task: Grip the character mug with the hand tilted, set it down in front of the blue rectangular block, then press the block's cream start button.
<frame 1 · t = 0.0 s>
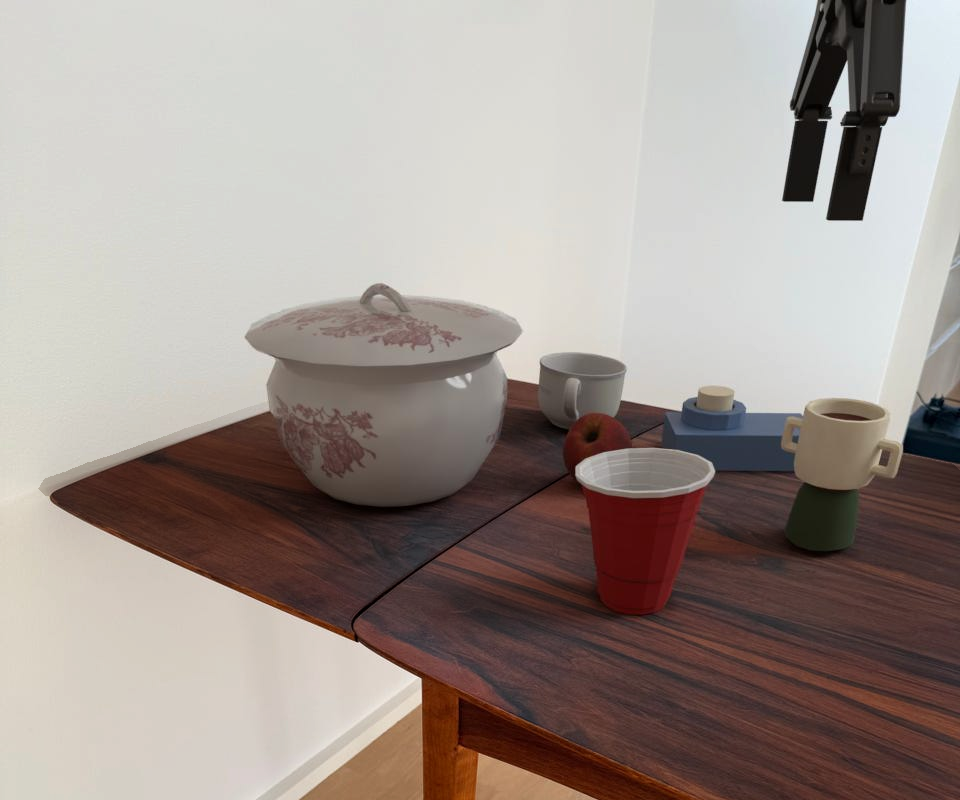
hand: (818, 210, 77), 28 cm above the table, tool pointing down, fingers open, 13 cm apart
apple: (594, 486, 96), on the table
teacup: (574, 429, 112), on the table
blue rectangular block: (734, 458, 103), on the table
start button: (715, 399, 100), point 7 cm above the table, slide at 0.1 cm
plastic cup: (630, 599, 75), on the table
chamber pot: (394, 484, 97), on the table
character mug: (816, 545, 84), on the table
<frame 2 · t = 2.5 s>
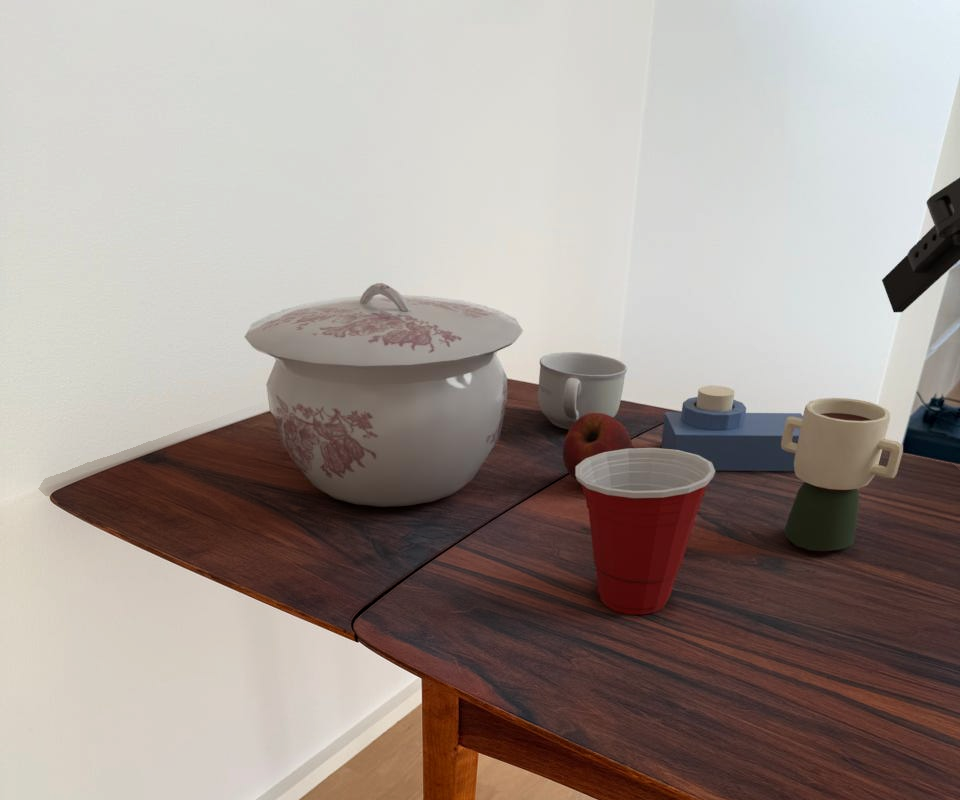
nothing on the table moved.
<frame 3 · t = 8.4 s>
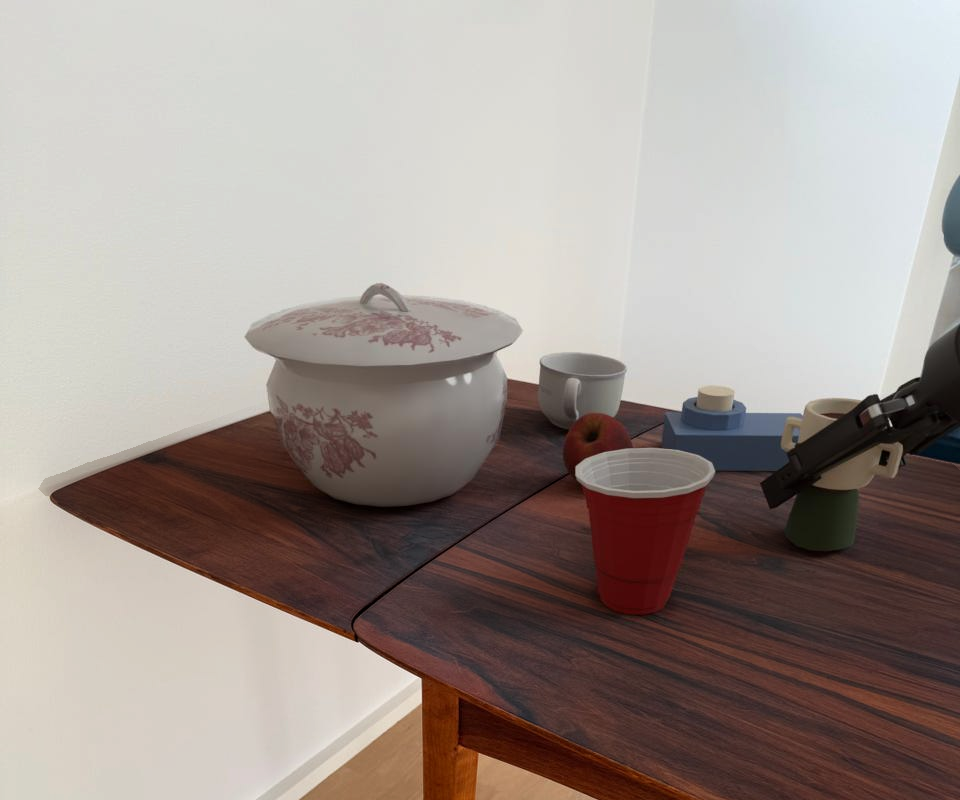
hand: (800, 488, 84), 4 cm above the table, tool tilted 45°, fingers closed on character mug, 7 cm apart
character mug: (816, 545, 84), on the table, touching gripper
everything else where it was.
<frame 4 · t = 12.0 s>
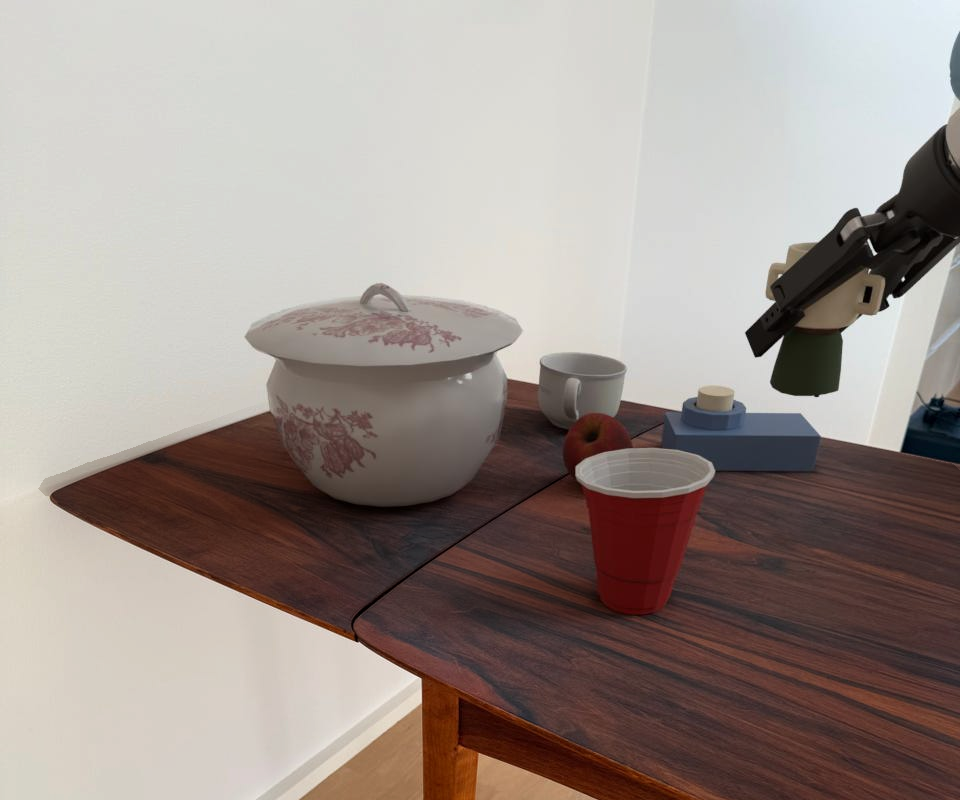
hand: (785, 339, 85), 16 cm above the table, tool tilted 45°, fingers closed on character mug, 7 cm apart
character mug: (801, 396, 85), point 12 cm above the table, touching gripper
everything else where it was.
when the fingers open (4 cm above the table, at t = 15.9 s): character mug stays where it is, on the table.
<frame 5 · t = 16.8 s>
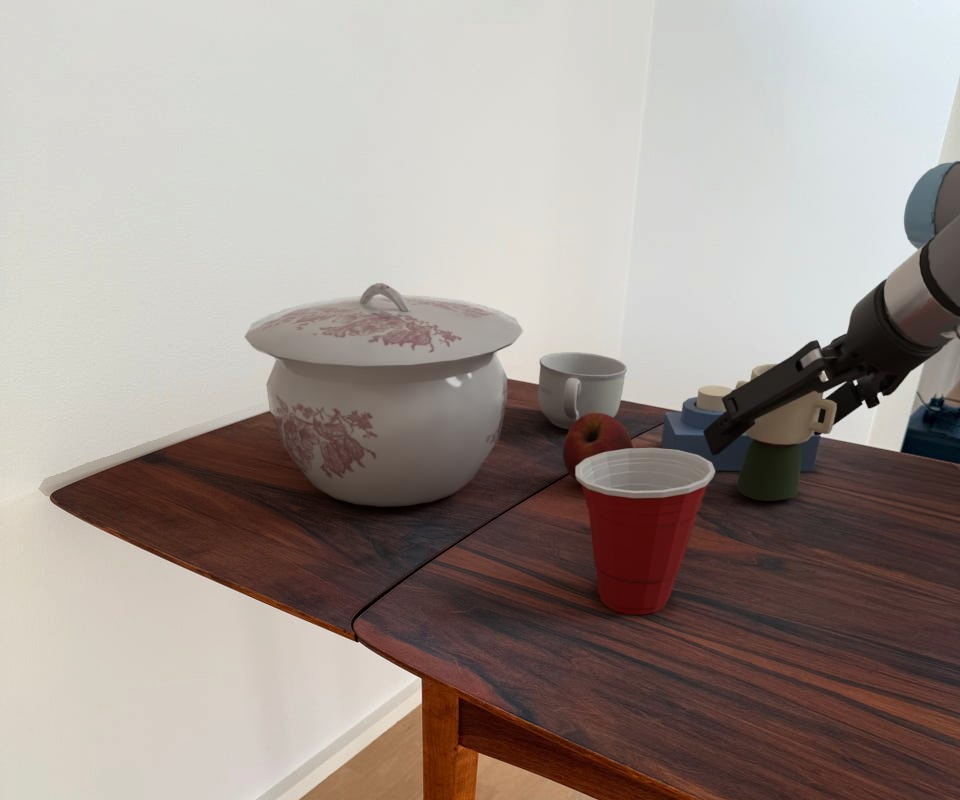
hand: (762, 433, 92), 6 cm above the table, tool tilted 45°, fingers open, 13 cm apart
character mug: (765, 497, 94), on the table
everything else where it was.
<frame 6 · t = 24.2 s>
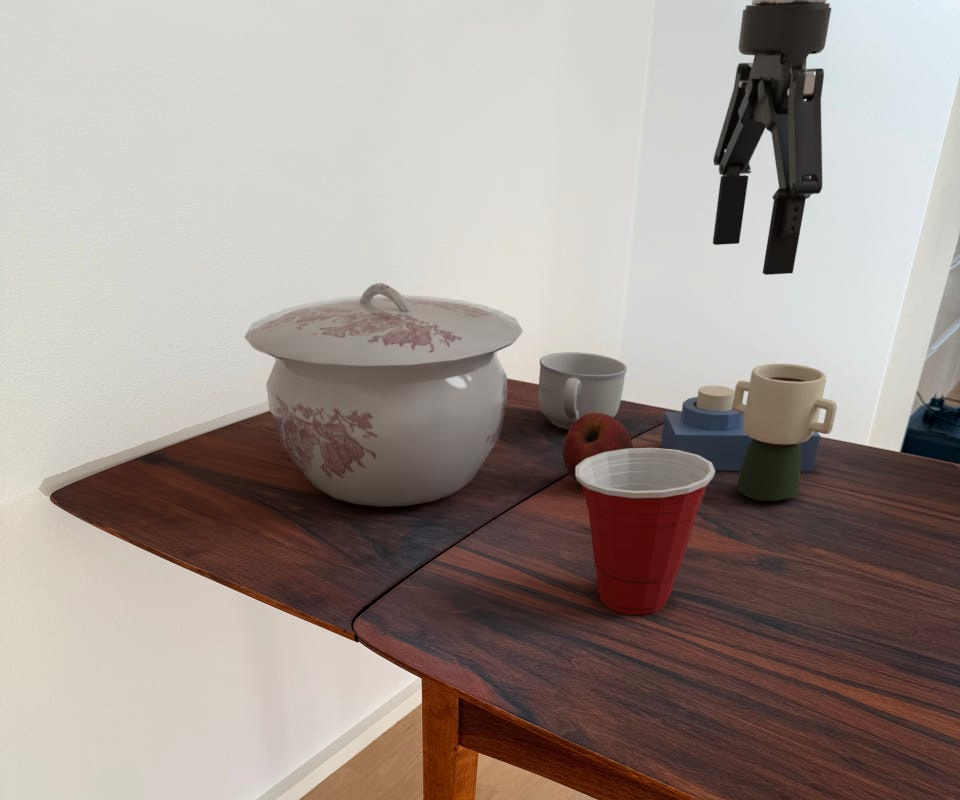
hand: (750, 257, 90), 22 cm above the table, tool pointing down, fingers open, 13 cm apart
nothing on the table moved.
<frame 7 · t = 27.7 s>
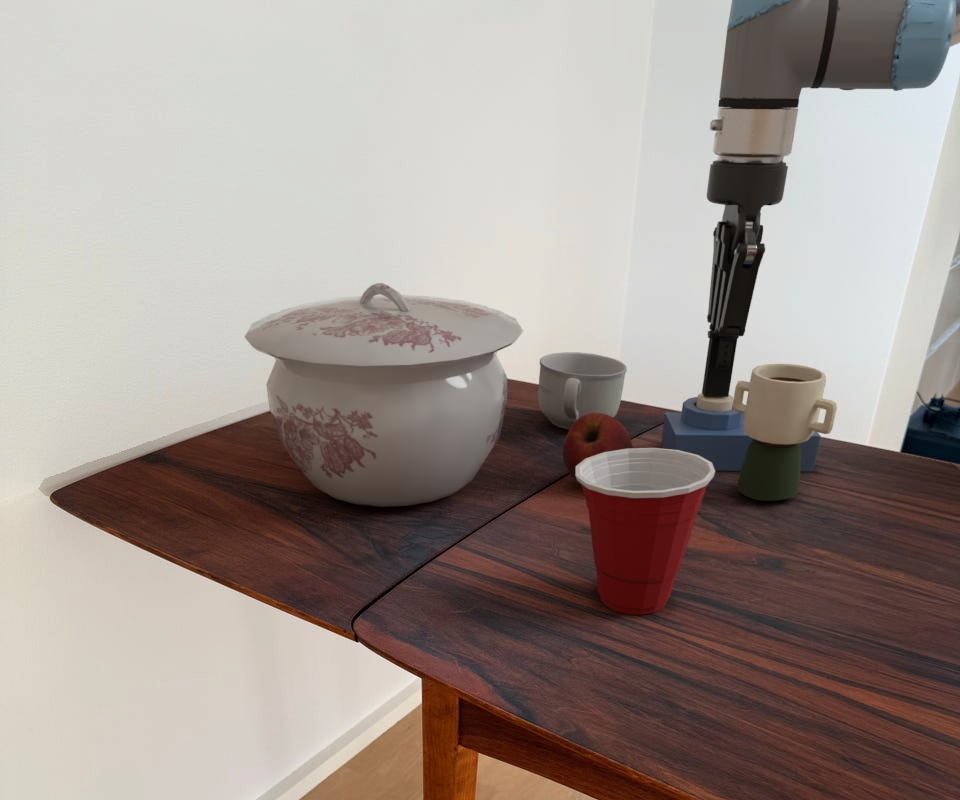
hand: (715, 394, 100), 7 cm above the table, tool pointing down, fingers closed
start button: (714, 405, 101), point 6 cm above the table, slide at -0.6 cm, touching gripper
everything else where it was.
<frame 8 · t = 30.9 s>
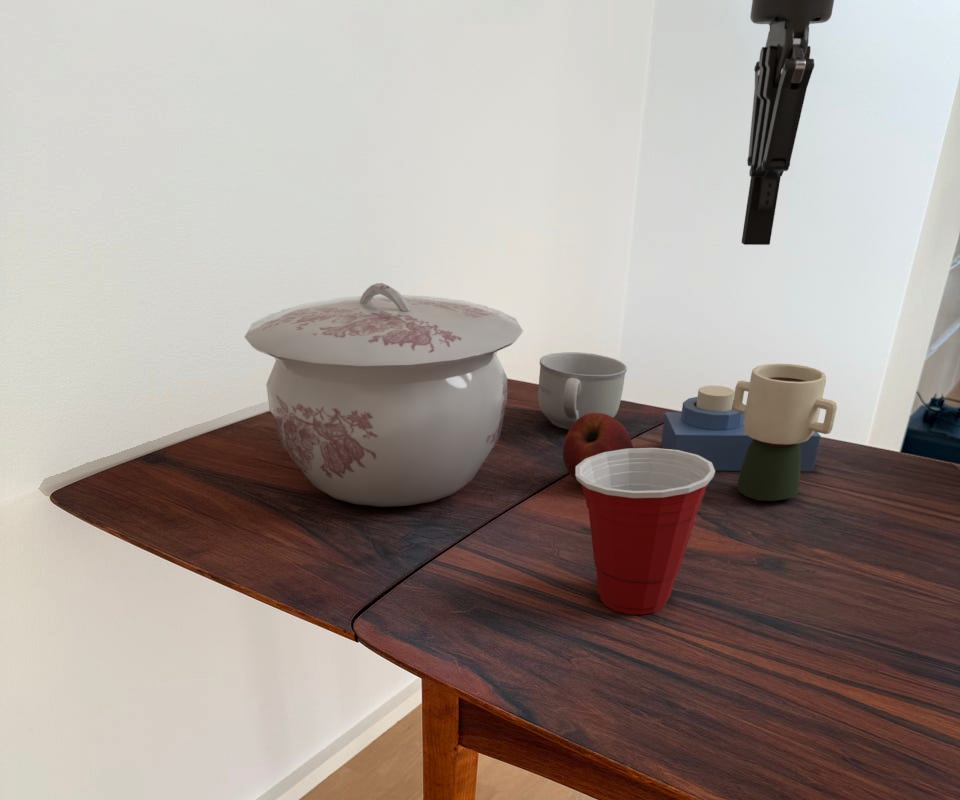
hand: (755, 243, 95), 22 cm above the table, tool pointing down, fingers closed
start button: (715, 399, 100), point 7 cm above the table, slide at 0.1 cm
everything else where it was.
at the end: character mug inside the target area on the table beside the blue rectangular block (1.1 cm from its centre), on the table; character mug tilted 0°; start button pushed in 1.0 cm at the most during the clip, back to where it started at the end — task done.
